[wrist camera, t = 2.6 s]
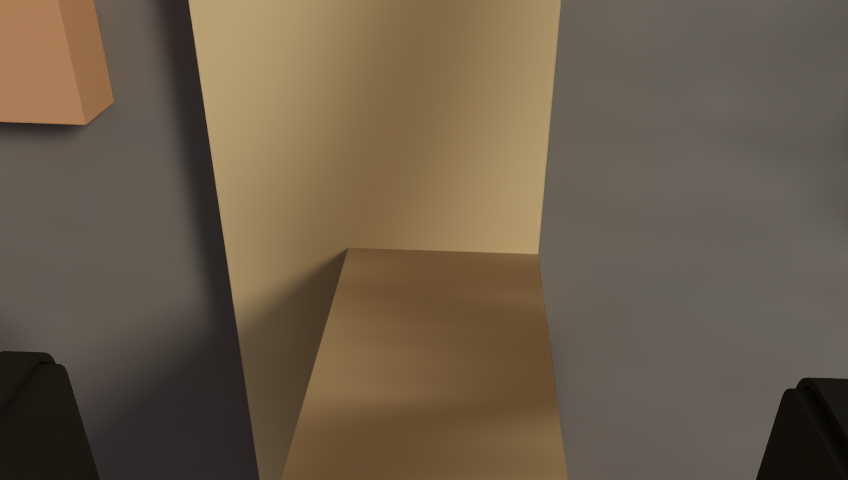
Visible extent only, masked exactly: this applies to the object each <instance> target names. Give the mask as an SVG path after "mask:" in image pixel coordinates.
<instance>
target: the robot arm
mask: <svg viewBox="0 0 848 480" xmlns="http://www.w3.org/2000/svg"><path fill="white" fill-rule="evenodd" d="M0 480H100V479H99V476H98V473H97V470H96V466H95V463H94V460H93V456H92V453H91V450H90V446H89V443H88V440H87V436H86V433H85V430H84V426H83V423H82V420H81V416H80V413H79V410H78V406H77V403H76V400H75V397H74V393H73V390H72V387H71V383H70V380H69V377H68V373H67V371H66V369H65V367H64V366H63V365H61V364H56V363H55V361H54V359H53V357H52V356H51V355H50V354H48V353H43V352H13V351H3V352H0ZM756 480H848V379H835V378H803V379H802V380H801V381H800V382H799V383H798V385H797V387H796V389H787V390H786V391H785V392H784V394H783V396H782V399H781V402H780V405H779V409H778V412H777V415H776V418H775V421H774V424H773V428H772V431H771V434H770V437H769V440H768V443H767V447H766V450H765V453H764V456H763V459H762V463H761V466H760V469H759V472H758V475H757V478H756Z"/></svg>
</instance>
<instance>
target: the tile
mask: <svg viewBox="0 0 848 480" xmlns="http://www.w3.org/2000/svg"><path fill="white" fill-rule="evenodd" d="M113 102H114V100H113V95H112V90H111V85H110V80H109V75H108V70H107V66H106V61H105V56H104V51H103V46H102V41H101V36H100V31H99V26H98V21H97V16H96V11H95V6H94V1H93V0H0V122H20V123H48V124H76V125H86V124H88V123H89V122H90V121H91V120H92V119H94V118H95V117H96V116H97V115H99V114H100V113H101V112H102V111H103V110H105V109H106V108H107V107H108V106H110V105H111V104H112V103H113Z"/></svg>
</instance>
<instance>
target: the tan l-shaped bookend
mask: <svg viewBox="0 0 848 480" xmlns="http://www.w3.org/2000/svg"><path fill="white" fill-rule="evenodd" d="M560 4H561V0H189V7H190V13H191V20H192V27H193V34H194V40H195V47H196V54H197V61H198V67H199V74H200V81H201V88H202V95H203V101H204V108H205V115H206V122H207V128H208V135H209V142H210V149H211V155H212V162H213V169H214V176H215V182H216V189H217V196H218V203H219V210H220V216H221V223H222V230H223V237H224V243H225V250H226V257H227V264H228V270H229V277H230V284H231V291H232V297H233V304H234V311H235V318H236V325H237V331H238V338H239V345H240V352H241V358H242V365H243V372H244V379H245V385H246V392H247V399H248V406H249V412H250V419H251V426H252V433H253V439H254V446H255V453H256V460H257V467H258V473H259V480H568V478H567V470H566V463H565V455H564V448H563V440H562V432H561V425H560V417H559V410H558V402H557V394H556V387H555V379H554V372H553V364H552V357H551V349H550V341H549V334H548V326H547V319H546V311H545V303H544V296H543V288H542V281H541V273H540V265H539V258H538V249H539V238H540V226H541V215H542V204H543V193H544V182H545V171H546V160H547V149H548V137H549V126H550V115H551V104H552V93H553V82H554V71H555V60H556V48H557V37H558V26H559V15H560Z"/></svg>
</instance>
